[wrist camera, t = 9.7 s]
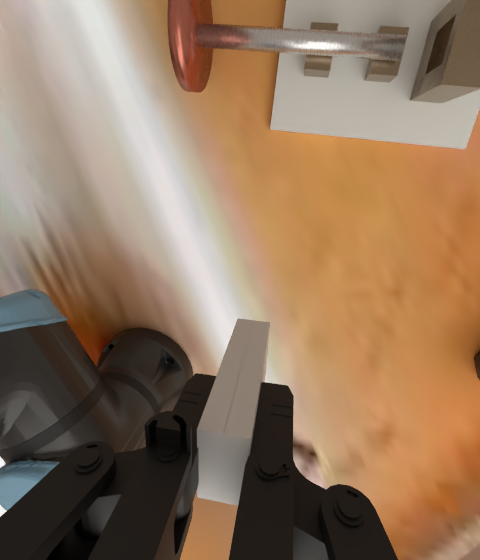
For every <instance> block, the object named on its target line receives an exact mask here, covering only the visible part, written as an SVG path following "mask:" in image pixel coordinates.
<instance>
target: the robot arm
mask: <svg viewBox="0 0 480 560" xmlns="http://www.w3.org/2000/svg"><path fill="white" fill-rule="evenodd" d="M66 320H67V318H66V316H63V315H62V314H61V312H60V311H59V310H58V308H57V307H56V306H55V304H54V303H53V302H52V300H51V299H50V298H49V296H48V295H47V294H45V293H44V292H42V291H40V290H35V289H29V290H23V291H20V292H17V293H13V294H10V295H7V296H4V297H1V298H0V456H1V458H2V459H3V460H4V461H5V463H6V465H4V466H3V467H1V468H0V505H1V506H2V507H3V508H4V509H6V510H7V512H5V513H4V514H3V515H2V516H1V517H0V560H180V557H181V553H182V550H183V546H184V543H185V539H186V536H187V533H188V529H189V526H190V522H191V519H192V511H193V500H194V497H195V493H196V490H197V497H198V498H203V499H208V500H213V501H218V502H223V503H227V504H233V505H238V510H237V515H236V521H235V528H234V533H233V538H232V545H231V550H230V556H229V560H398V558H397V556H396V554H395V552H394V550H393V547H392V545H391V543H390V541H389V538H388V536H387V534H386V532H385V530H384V527H383V525H382V523H381V521H380V518H379V516H378V514H377V512H376V510H375V508H374V506H373V505H372V503H371V502H370V500H369V499H368V498H367V497H366V496H365V495H364V494H363V493H361V492H360V491H359V490H357V489H355V488H353V487H351V486H348V485H341V484H338V485H334V486H330V487H329V488H328V489H327V490H326V489H324V488H322V487H320V486H318V485H316V484H314V483H312V482H311V481H309V480H308V479H306V478H305V477H304V476H303V475H302V474H301V473H300V472H299V470H298V469H297V467H296V466H295V463H294V461H293V394H292V393H291V391H290V389H289V387H288V386H286V385H279V384H272V383H265V382H264V380H265V373H266V363H267V351H268V340H269V329H270V322H261V321H253V320H245V319H238V320H237V322H236V325H235V328H234V330H233V333H232V336H231V339H230V341H229V344H228V347H227V349H226V352H225V355H224V357H223V360H222V363H221V366H220V368H219V371H218V374H217V376H211V375H204V374H197V373H196V374H195V375H194V376H193V372H192V367H191V364H190V362H189V359H188V357H187V356H186V354H185V353H184V351H183V350H182V349H181V348H180V347H179V346H178V345H177V344H176V343H175V342H174V341H173V340H171V339H170V338H168V337H167V336H165V335H163V334H161V333H159V332H156V331H153V330H149V329H142V328H135V329H129V330H125V331H123V332H121V333H119V334H118V335H116V336H115V337H114V338H113V339H112V340H111V341H110V342H109V343H108V344H107V345H106V346H105V348H104V349H103V351H102V353H101V355H100V357H99V359H98V362H97V364H96V366H95V364H94V363H93V361H92V360H91V358H90V357H89V355H88V353H87V352H86V350H85V349H84V347H83V346H82V344H81V343H80V341H79V340H78V338H77V337H76V335H75V333H74V332H73V330H72V329H71V327H70V326H69V324H68V323H67V321H66Z"/></svg>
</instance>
